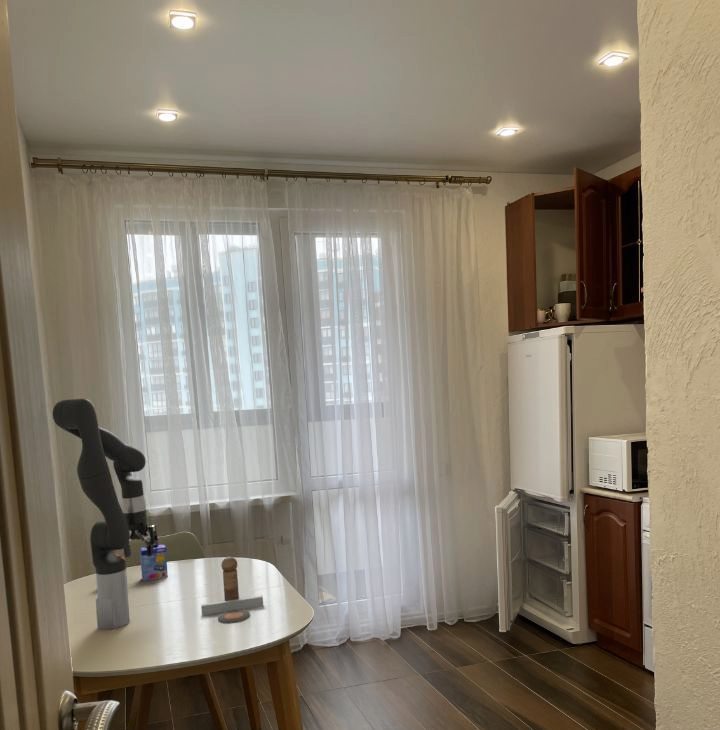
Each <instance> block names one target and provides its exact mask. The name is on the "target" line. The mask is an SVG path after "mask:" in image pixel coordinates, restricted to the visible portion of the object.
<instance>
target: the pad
mask: <svg viewBox="0 0 720 730" xmlns="http://www.w3.org/2000/svg"><path fill="white" fill-rule="evenodd" d="M249 618H250V611H248V610H246V609H240V610H233V611H227V612H221V613H220V614H219V615H218V616H217V620H218V622H220V623H222V622H223V623H222V624H232V623H231V622H235V623H240V622H243V621H245V620H247V619H249ZM239 621H240V622H239ZM225 622H226V623H225Z"/></svg>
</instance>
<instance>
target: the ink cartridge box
mask: <svg viewBox="0 0 720 730" xmlns="http://www.w3.org/2000/svg"><path fill="white" fill-rule="evenodd" d="M139 550H140V551H139V553H140V555H139V556H140V571H141V579H142V582H146V581H152V580H156V579H164V578H168V577H169V574H168V564H167V562H168V560H167V557H168V555H167V546H166V545H165V544H159V541H158V542H156V543H154V544H153V550H154V553H153V555H152V556H151V557H148V556H147V547H146V546H145V547H140V548H139Z"/></svg>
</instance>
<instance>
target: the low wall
mask: <svg viewBox="0 0 720 730" xmlns="http://www.w3.org/2000/svg"><path fill="white" fill-rule="evenodd" d="M200 607H201V616H205V615H206V616H207V615H212V614H213V615H214V614H218V613H220V614H221V613H225V612H228V611H233V610H246V609H247V610H248V609H253V608H259V607H264V596H263V595H258V596H251V597H245V598H244V597H243V598H239V599H236V600H229V601H225V600H223V601H216V602H209V603H202V604H201V606H200Z"/></svg>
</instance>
